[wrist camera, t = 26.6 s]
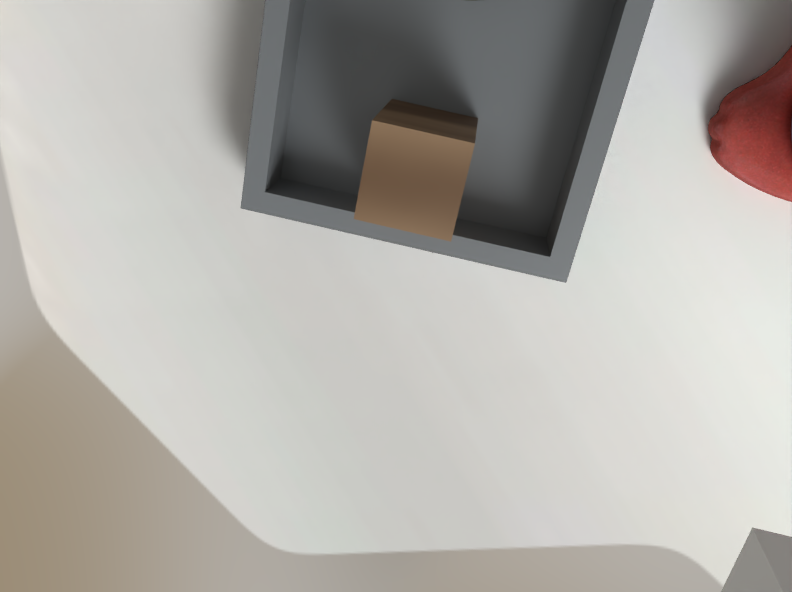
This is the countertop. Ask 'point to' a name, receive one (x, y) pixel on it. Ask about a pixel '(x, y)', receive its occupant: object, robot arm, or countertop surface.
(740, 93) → the stacking bear
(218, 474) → the countertop surface
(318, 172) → the tray
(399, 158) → the walnut block
